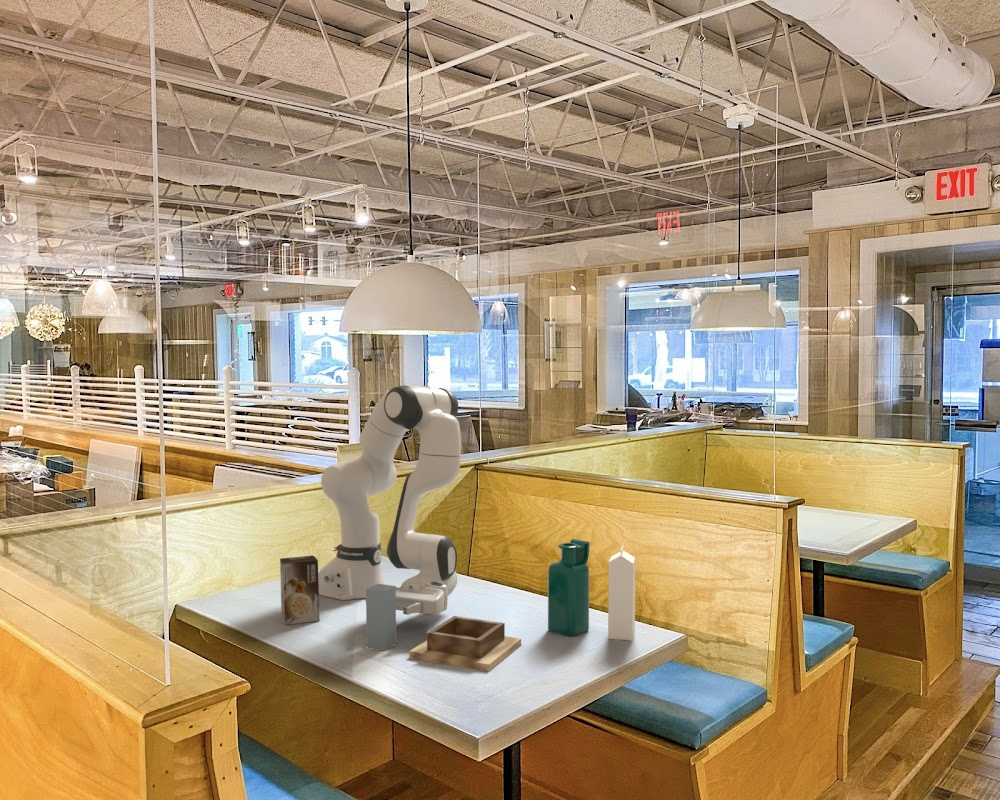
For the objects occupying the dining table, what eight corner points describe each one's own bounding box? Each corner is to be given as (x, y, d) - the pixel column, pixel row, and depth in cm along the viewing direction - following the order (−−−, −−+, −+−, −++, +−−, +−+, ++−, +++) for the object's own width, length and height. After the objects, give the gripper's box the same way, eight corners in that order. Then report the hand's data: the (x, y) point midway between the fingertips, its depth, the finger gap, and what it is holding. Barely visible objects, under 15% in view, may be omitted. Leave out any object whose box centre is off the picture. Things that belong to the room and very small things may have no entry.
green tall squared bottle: (571, 638, 195) (571, 548, 194) (544, 630, 201) (544, 543, 200) (595, 628, 202) (595, 542, 202) (568, 621, 208) (568, 537, 207)
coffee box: (316, 614, 215) (315, 554, 214) (320, 621, 209) (319, 560, 208) (280, 618, 211) (279, 557, 211) (283, 625, 205) (282, 563, 205)
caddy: (409, 657, 183) (409, 633, 182) (446, 633, 199) (446, 611, 199) (489, 671, 175) (489, 646, 174) (521, 644, 191) (521, 622, 191)
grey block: (366, 647, 189) (366, 589, 189) (378, 641, 194) (377, 583, 193) (384, 650, 187) (384, 591, 187) (396, 644, 192) (395, 585, 191)
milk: (608, 639, 195) (607, 549, 194) (610, 631, 201) (610, 543, 200) (633, 641, 194) (633, 550, 193) (635, 632, 200) (635, 544, 199)
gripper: (382, 577, 209) (351, 591, 197) (452, 585, 201) (425, 600, 188) (382, 601, 210) (352, 616, 197) (452, 610, 201) (425, 627, 189)
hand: (388, 608), depth 193 cm, fingers open, 8 cm apart
